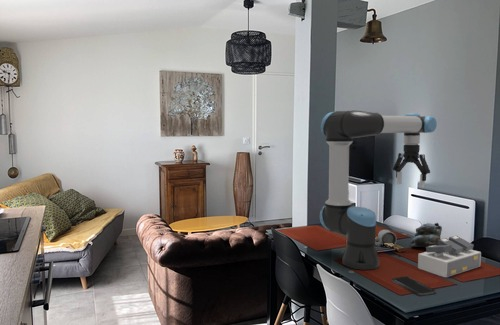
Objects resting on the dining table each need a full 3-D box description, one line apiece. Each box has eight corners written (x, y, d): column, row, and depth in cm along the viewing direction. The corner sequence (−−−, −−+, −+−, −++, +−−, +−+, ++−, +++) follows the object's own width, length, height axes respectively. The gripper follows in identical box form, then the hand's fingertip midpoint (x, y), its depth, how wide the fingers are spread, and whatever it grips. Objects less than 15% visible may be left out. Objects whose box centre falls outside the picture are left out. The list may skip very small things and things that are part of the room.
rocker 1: (452, 250, 153) (451, 244, 154) (444, 252, 151) (443, 246, 151) (434, 250, 160) (433, 245, 160) (426, 252, 158) (425, 247, 158)
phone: (419, 294, 132) (390, 278, 146) (419, 297, 132) (390, 281, 146) (437, 291, 135) (407, 275, 149) (437, 294, 135) (407, 278, 149)
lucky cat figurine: (404, 246, 189) (406, 218, 194) (421, 253, 193) (423, 226, 198) (430, 245, 176) (432, 215, 181) (448, 252, 180) (450, 223, 185)
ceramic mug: (391, 242, 195) (391, 227, 195) (397, 247, 187) (397, 232, 187) (369, 243, 196) (370, 228, 195) (374, 248, 187) (375, 232, 187)
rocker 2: (462, 252, 158) (463, 247, 157) (454, 254, 155) (456, 249, 155) (444, 242, 164) (445, 237, 164) (437, 243, 162) (438, 239, 161)
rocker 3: (472, 249, 162) (474, 244, 161) (465, 251, 159) (467, 246, 158) (454, 239, 168) (456, 235, 167) (447, 241, 165) (449, 236, 165)
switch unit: (446, 277, 149) (447, 258, 148) (417, 268, 159) (418, 250, 159) (481, 266, 161) (482, 248, 160) (452, 258, 171) (453, 241, 171)
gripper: (438, 144, 188) (437, 188, 190) (396, 143, 210) (394, 182, 212) (429, 145, 185) (427, 189, 186) (386, 143, 206) (385, 183, 208)
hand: (410, 185), depth 199 cm, fingers open, 13 cm apart
